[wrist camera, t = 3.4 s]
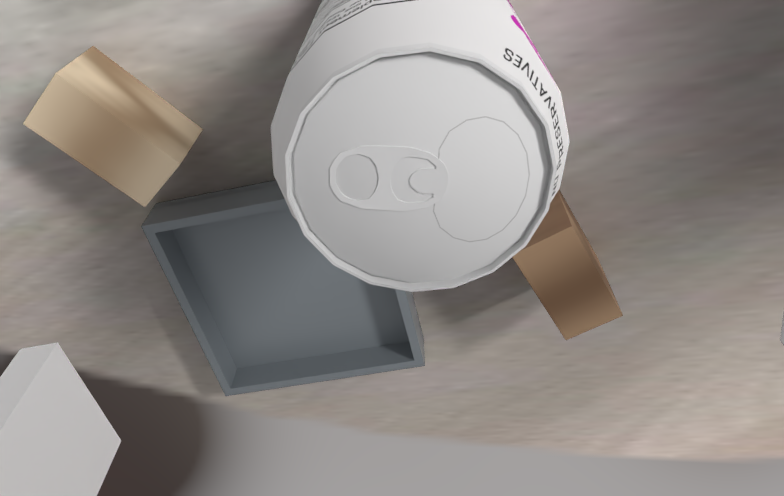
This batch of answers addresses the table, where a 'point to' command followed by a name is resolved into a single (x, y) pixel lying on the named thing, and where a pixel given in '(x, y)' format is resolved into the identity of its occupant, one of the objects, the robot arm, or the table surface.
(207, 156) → the table surface
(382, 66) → the supplement can
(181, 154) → the tan block
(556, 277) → the walnut block
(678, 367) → the table surface
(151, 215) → the tray
